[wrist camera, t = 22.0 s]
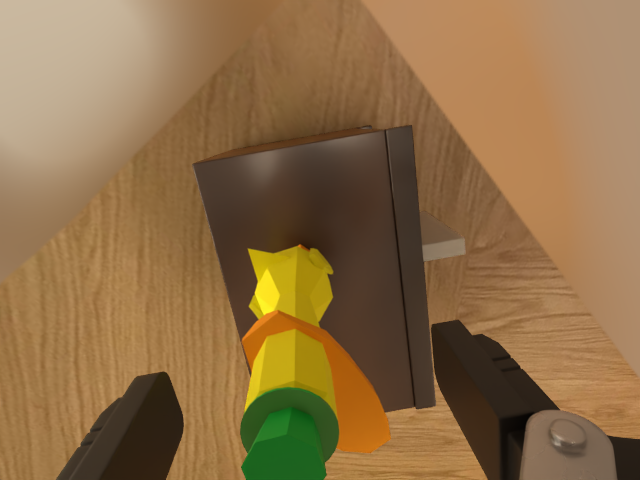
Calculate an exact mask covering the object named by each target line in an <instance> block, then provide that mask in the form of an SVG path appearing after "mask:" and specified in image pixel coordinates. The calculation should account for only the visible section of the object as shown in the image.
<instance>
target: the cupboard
mask: <svg viewBox="0 0 640 480" xmlns="http://www.w3.org/2000/svg"><path fill="white" fill-rule="evenodd" d="M192 166H193V169H194V173H195V177H196V180H197V184H198V188H199V191H200V195H201V199H202V202H203V206H204V209H205V213H206V217H207V220H208V224H209V228H210V231H211V235H212V239H213V242H214V246H215V250H216V253H217V257H218V261H219V264H220V268H221V271H222V275H223V279H224V282H225V286H226V290H227V293H228V297H229V301H230V304H231V308H232V312H233V315H234V319H235V323H236V326H237V330H238V333H239V337H240V341H241V344H242V338H243V337H244V336H245V335H246V333H247V332H248V331H249V330H250V329H251V327H252V326H253V325H254V324H255V323H256V321H258V320H259V319H258V318H257V316H256V315H255V314H254V312H253V311H252V310H251V309H250V307H249V304H250V302H251V300H252V298H253V295H255V290H256V287H257V283H258V280H257V277H256V274H255V270H254V267H253V264H252V261H251V258H250V255H249V251H248V249H253V250H258V251H263V252H268V253H273V254H274V253H277V252H280V251H283V250H286V249H290V248H293V247H296V246H298V245H300V244H301V245H302V246H304V247H305V248H307V249H308V250H310V248H314V249H317V250H318V251H319V252H320V253H321V254H322V255H323V256H324V258H325V259H326V260H327V262H328V263H329V264H330V266H331V267H332V270H333V274H327V275H328V278H329V281H330V285H331V290H332V295H333V298H332V300H331V302H330V304H329V305H328V307H327V309H326V311H325V312H324V314H323V316H322V318H321V319H320V321H319V322H318V323H319V326H320V328H321V329H324V330H326V331H327V332H328V333H329V334H330V335H331V336H332V337H333V338H334V339H335V340H336V342H337V343H338V344H339V345H340V346H341V347H342V348H343V349H344V350H345V351H346V352H347V353H348V354H349V355H350V356H351V358H352V359H353V360H354V362H355V363H356V364H357V366H358V367H359V368H360V370H361V371H362V372H363V374H364V375H365V376H366V378H367V379H368V380H369V382H370V383H371V384H372V386H373V388H374V390H375V392H376V394H377V396H378V398H379V400H380V402H381V405H382V407H383V409H384V412H390V411H396V410H401V409H407V408H412V407H415V408H416V409H422V408H428V407H433V406H436V400H435V388H434V376H433V365H432V353H431V341H430V330H429V318H428V307H427V295H426V283H425V272H424V260H423V248H422V237H421V225H420V213H419V202H418V190H417V179H416V167H415V155H414V144H413V132H412V125H405V126H400V127H394V128H389V129H385V130H382V129H372V126H371V125H369V126H363V127H358V128H352V129H347V130H341V131H335V132H330V133H324V134H319V135H313V136H307V137H302V138H296V139H290V140H285V141H279V142H273V143H268V144H262V145H257V146H251V147H245V148H240V149H234V150H230V151H227V152H224V153H221V154H219V155H216V156H213V157H210V158H207V159H204V160H201V161H199V162H196V163H193V164H192ZM242 348H243V352H244V355H245V359H246V363H247V366H248V370H249V374H250V377H251V374H252V373H251V369H250V366H249V363H248V360H247V357H246V353H245V350H244V347H243V344H242Z"/></svg>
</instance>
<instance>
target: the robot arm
mask: <svg viewBox="0 0 640 480" xmlns="http://www.w3.org/2000/svg"><path fill="white" fill-rule="evenodd" d="M431 334H432V346H433V358H434V369H435V375H436V379H437V382H438V385H439V388H440V390H441V392H442V394H443V396H444V398H445V400H446V402H447V404H448V405H449V407H450V409H451V411H452V413H453V415H454V417H455V419H456V420H457V422H458V424H459V426H460V428H461V430H462V432H463V434H464V435H465V437H466V439H467V441H468V443H469V445H470V447H471V448H472V450H473V452H474V454H475V456H476V458H477V460H478V462H479V463H480V465H481V467H482V469H483V471H484V473H485V475H486V476H487V478H488V480H640V439H631V438H620V437H613V436H608V435H606V434H605V433H604V432H603V431H602V430H601V429H600V428H599V427H598V426H596V425H595V424H594V423H592V422H590V421H589V420H587V419H585V418H583V417H581V416H579V415H576V414H573V413H570V412H566V411H561V410H560V409H559V408H558V407H557V406H556V405H555V404H554V403H553V401H552V400H551V399H550V398H549V397H548V396H547V395H546V394H545V393H544V392H543V391H542V390H541V388H540V387H539V386H538V385H537V384H536V383H535V382H534V381H533V380H532V379H531V378H530V377H529V375H528V374H527V373H526V372H525V371H524V370H523V369H521V368H520V366H519V365H518V363H517V362H516V361H515V360H514V359H513V358H511V357H510V355H509V354H508V353H507V352H506V350H505V349H504V348H503V347H502V346H501V345H500V344H499V343H498V342H496V341H494V340H492V339H490V338H488V337H487V336H485V335H483V334H478V335H471V333H470V332H469V331H468V330H467V329H466V327H465V326H464V325H463V324H462V323H461V322H460V321H459V320H453V321H448V322H442V323H437V324H432V327H431ZM183 427H184V422H183V414H182V411H181V408H180V405H179V403H178V400H177V397H176V394H175V391H174V389H173V386H172V383H171V380H170V378H169V376H168V374H167V373H166V372H158V373H153V374H147V375H142V376H137V377H136V378H135V379H134V380H133V382H132V383H131V385H130V386H129V388H128V389H127V391H126V392H125V394H124V395H123V397H121V398H118V399H117V400H116V401H114V402H113V403H112V404H111V405H110V406H109V407H108V408H107V409H106V410H105V411H103V412H102V413H101V415H100V416H99V418H98V419H97V421H96V422H95V423H94V425H93V426H92V428H91V429H90V433H88V434H87V435H86V436H85V438H84V439H83V441H82V442H81V446H80V447H78V448H77V450H76V451H75V452H74V454H73V455H72V457H71V458H70V460H69V461H68V463H67V464H66V466H65V467H64V468H63V470H62V471H61V473H60V474H59V476H58V477H57V479H56V480H166V478H167V475H168V472H169V470H170V467H171V464H172V462H173V459H174V456H175V454H176V451H177V448H178V446H179V443H180V441H181V438H182V434H183Z"/></svg>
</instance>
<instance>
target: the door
mask: <svg viewBox="0 0 640 480" xmlns="http://www.w3.org/2000/svg"><path fill="white" fill-rule="evenodd" d="M419 213H420V225H421V237H422V248H423V260H424V262H425V261H430V260H436V259H441V258H447V257H453V256H458V255H464V254H465V238H464V237H463V236H461V235H460V234H458V233H457V232H455V231H454V230H452V229H451V228H449V227H448V226H446V225H445V224H443V223H442V222H440V221H439V220H437V219H436V218H435V217H433V216H432V215H430V214H429V213H427V212H426V211H422V212H419Z"/></svg>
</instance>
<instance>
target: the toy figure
mask: <svg viewBox="0 0 640 480" xmlns="http://www.w3.org/2000/svg"><path fill="white" fill-rule="evenodd" d="M248 251H249V255H250V258H251V261H252V264H253V267H254V270H255V274H256V277H257V280H258V283H257V287H256V290H255V295H253V298H252V300H251V302H250V304H249V307H250V309H251V310H252V311H253V312H254V314H255V315H256V316H257V318H258V319H259V320H258V321H256V323H255V324H254V325H253V326H252V327H251V329H250V330H249V331H248V332H247V333H246V335H245V336H244V337H243V338H242V344H243V347H244V350H245V353H246V357H247V360H248V363H249V366H250V369H251V373H252V374H251V379H250V384H249V389H248V394H247V400H246V405H245V410H244V415H243V418H242V422H241V429H240V435H241V439H242V443H243V445H244V447H245V449H246V451H247V453H248V454H247V456H246V458H245V460H244V462H243V464H242V466H241V468H242V471H243V473H244V475H245V478H246V480H324V478H325V476H326V475H327V474H326V468H325V462H326V461H327V460H328V459H329V458H330V457H331V456H332V454H333V453H334V451H335V449H336V448H337V449H340V450H342V451H349V452H362V453H371V452H373V451H374V450H376V449H377V448H378V447H380V446H381V445H383V444H384V443H386V442H387V441H389V440H390V439H391V437H390V430H389V424H388V419H387V417H386V414H385V412H384V409H383V407H382V405H381V402H380V400H379V398H378V396H377V394H376V392H375V390H374V388H373V386H372V384H371V383H370V382H369V380H368V379H367V378H366V376H365V375H364V374H363V372H362V371H361V370H360V368H359V367H358V366H357V364H356V363H355V362H354V360H353V359H352V358H351V356H350V355H349V354H348V353H347V352H346V351H345V350H344V349H343V348H342V347H341V346H340V345H339V344H338V343H337V342H336V340H335V339H334V338H333V337H332V336H331V335H330V334H329V333H328V332H327V331H326V330H324V329H321V328H320V326H319V323H318V322H319V321H320V319H321V318H322V316H323V314H324V312H325V311H326V309H327V307H328V305H329V304H330V302H331V300H332V298H333V295H332V290H331V285H330V281H329V278H328V275H327V274H333V270H332V267H331V266H330V264H329V263H328V262H327V260H326V259H325V258H324V256H323V255H322V254H321V253H320V252H319V251H318V250H317V249H314V248H310V250H308V249H307V248H305V247H304V246H302V245H301V244H300V245H298V246H296V247H293V248H290V249H286V250H283V251H280V252H277V253H274V254H273V253H268V252H263V251H258V250H253V249H248Z"/></svg>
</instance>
